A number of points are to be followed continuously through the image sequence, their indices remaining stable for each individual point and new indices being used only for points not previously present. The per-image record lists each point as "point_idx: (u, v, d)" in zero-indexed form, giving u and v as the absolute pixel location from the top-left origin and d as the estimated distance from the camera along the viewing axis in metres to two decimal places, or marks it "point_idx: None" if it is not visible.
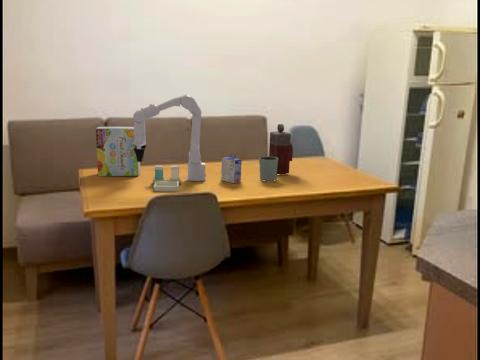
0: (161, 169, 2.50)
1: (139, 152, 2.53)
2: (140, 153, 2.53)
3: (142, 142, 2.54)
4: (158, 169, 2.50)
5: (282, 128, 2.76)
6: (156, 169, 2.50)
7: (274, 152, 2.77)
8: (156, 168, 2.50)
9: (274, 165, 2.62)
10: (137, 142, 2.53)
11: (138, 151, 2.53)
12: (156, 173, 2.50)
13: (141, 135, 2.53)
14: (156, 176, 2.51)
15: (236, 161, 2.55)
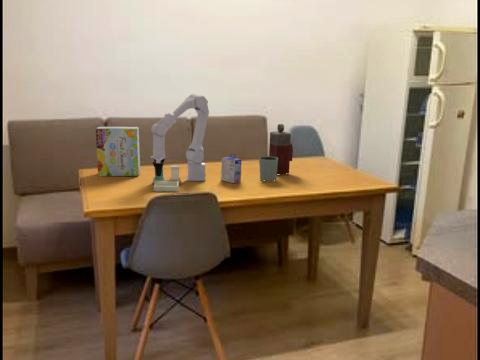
0: None
1: (158, 166, 2.47)
2: (159, 167, 2.47)
3: (161, 156, 2.48)
4: None
5: (282, 128, 2.76)
6: None
7: (274, 152, 2.77)
8: None
9: (274, 165, 2.62)
10: (156, 156, 2.47)
11: (157, 165, 2.46)
12: None
13: (160, 149, 2.46)
14: (156, 176, 2.51)
15: (236, 161, 2.55)
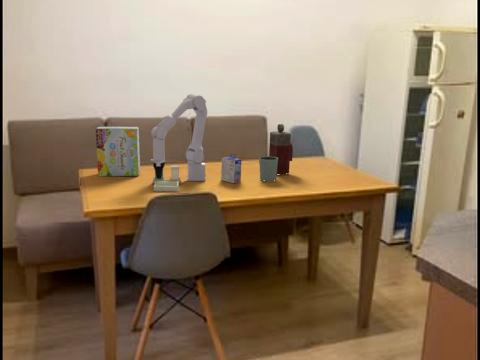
0: None
1: (158, 168, 2.49)
2: (159, 169, 2.49)
3: (161, 159, 2.48)
4: None
5: (282, 128, 2.76)
6: None
7: (274, 152, 2.77)
8: None
9: (274, 165, 2.62)
10: (156, 159, 2.47)
11: (157, 167, 2.49)
12: None
13: (160, 152, 2.47)
14: None
15: (236, 161, 2.55)
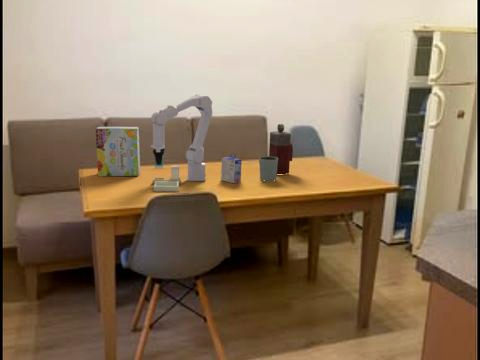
0: None
1: (158, 155, 2.47)
2: (159, 156, 2.48)
3: (161, 145, 2.46)
4: None
5: (282, 128, 2.76)
6: None
7: (274, 152, 2.77)
8: None
9: (274, 165, 2.62)
10: (156, 145, 2.46)
11: (157, 154, 2.47)
12: None
13: (160, 138, 2.45)
14: None
15: (236, 161, 2.55)
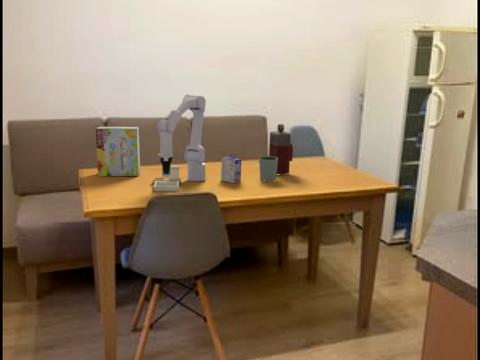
0: None
1: (166, 163, 2.39)
2: (167, 164, 2.39)
3: (169, 153, 2.38)
4: None
5: (282, 128, 2.76)
6: None
7: (274, 152, 2.77)
8: None
9: (274, 165, 2.62)
10: (164, 154, 2.37)
11: (165, 162, 2.39)
12: None
13: (168, 146, 2.37)
14: (163, 172, 2.40)
15: (236, 161, 2.55)
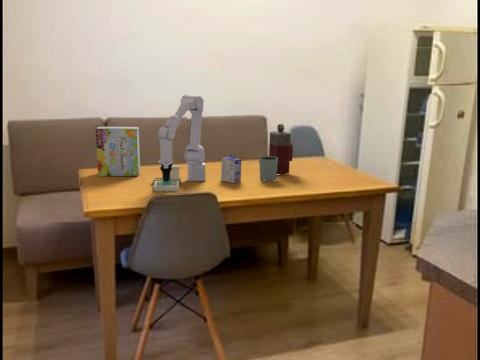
0: None
1: (166, 171, 2.38)
2: (167, 172, 2.38)
3: (169, 161, 2.38)
4: None
5: (282, 128, 2.76)
6: None
7: (274, 152, 2.77)
8: None
9: (274, 165, 2.62)
10: (164, 161, 2.38)
11: (165, 170, 2.38)
12: (163, 179, 2.41)
13: (168, 153, 2.37)
14: (163, 182, 2.41)
15: (236, 161, 2.55)
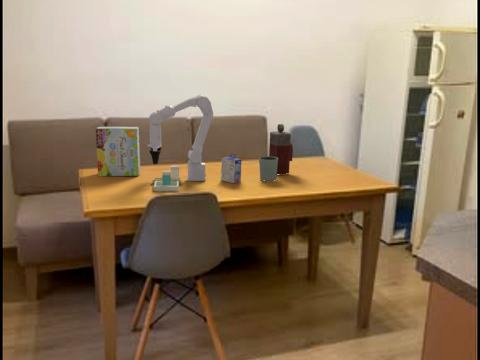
0: (169, 174, 2.41)
1: (155, 154, 2.52)
2: (156, 155, 2.52)
3: (158, 144, 2.53)
4: (166, 174, 2.41)
5: (282, 128, 2.76)
6: (163, 174, 2.41)
7: (274, 152, 2.77)
8: (163, 173, 2.40)
9: (274, 165, 2.62)
10: (153, 144, 2.52)
11: (154, 153, 2.52)
12: (163, 179, 2.41)
13: (157, 137, 2.52)
14: (163, 182, 2.41)
15: (236, 161, 2.55)
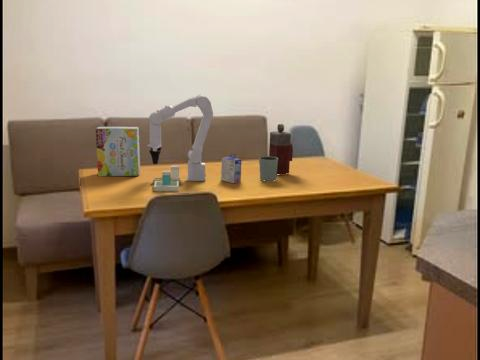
0: (169, 174, 2.41)
1: (155, 154, 2.52)
2: (156, 155, 2.52)
3: (158, 144, 2.53)
4: (166, 174, 2.41)
5: (282, 128, 2.76)
6: (163, 174, 2.41)
7: (274, 152, 2.77)
8: (163, 173, 2.40)
9: (274, 165, 2.62)
10: (153, 144, 2.52)
11: (154, 153, 2.52)
12: (163, 179, 2.41)
13: (157, 137, 2.52)
14: (163, 182, 2.41)
15: (236, 161, 2.55)
